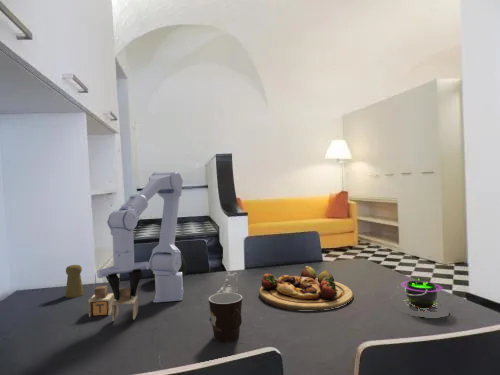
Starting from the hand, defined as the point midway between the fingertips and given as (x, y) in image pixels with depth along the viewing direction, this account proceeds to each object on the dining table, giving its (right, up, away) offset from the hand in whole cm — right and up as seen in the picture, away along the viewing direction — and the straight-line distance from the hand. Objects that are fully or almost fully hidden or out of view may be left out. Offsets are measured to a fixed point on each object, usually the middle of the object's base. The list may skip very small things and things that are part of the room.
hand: (125, 297), depth 101 cm
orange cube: (-10, -7, +8) cm, 14 cm away
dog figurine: (+29, -6, +8) cm, 31 cm away
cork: (-28, -8, +26) cm, 39 cm away
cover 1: (-10, -7, +8) cm, 14 cm away
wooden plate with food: (+56, -6, +19) cm, 59 cm away
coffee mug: (+31, -6, -14) cm, 34 cm away
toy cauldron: (+88, -5, +3) cm, 88 cm away
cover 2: (0, -6, 0) cm, 6 cm away
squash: (+3, -7, +42) cm, 43 cm away
